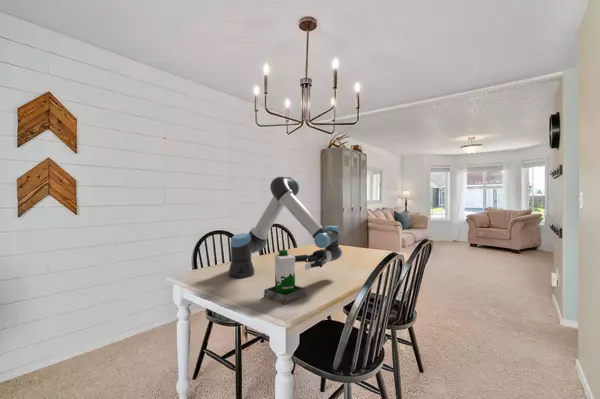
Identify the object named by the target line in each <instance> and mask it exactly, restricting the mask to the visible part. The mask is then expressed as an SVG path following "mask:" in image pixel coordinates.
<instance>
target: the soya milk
mask: <svg viewBox="0 0 600 399" xmlns="http://www.w3.org/2000/svg"><path fill="white" fill-rule="evenodd" d="M288 252H289V251H288V250H287V249H281V250H280V249H279V251H278V254H275V255H274V274H275V275H274V283H275V285H274V286H275V287H276V293H279V294H283V295H288V294H290V293H293V292H295V286H296V271H295V270H296V266H295V265H296V262H295V257H294V256H295V255H292V254H290V253H288Z"/></svg>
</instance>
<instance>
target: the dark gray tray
mask: <svg viewBox="0 0 600 399" xmlns="http://www.w3.org/2000/svg"><path fill="white" fill-rule="evenodd" d="M306 291H307V290H306V288H305V287H302V286H298V285H295V292H293V293H290V294H288V295H283V294H279V293H276V287H275V285H274V286H271V287H268V288H265V289H264V291H263V298H265V299H267V300H271V301H274V302H276V303H281V304H282V305H287V304H290V303H292V302H294V301H298V300H299V299H301V298H304V297H306V296H307V293H306Z"/></svg>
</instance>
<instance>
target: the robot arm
mask: <svg viewBox="0 0 600 399" xmlns="http://www.w3.org/2000/svg"><path fill="white" fill-rule="evenodd" d="M269 185H270V187H269V188H270V192H271V194H272V198H271V199H270V202H269V203H268V205H267V206H266V208H265V209H264V210H265V211H264V210H263V211H264V212H263V213H262V215H261V217H260V218H259V220H258V222H257V223H256V225H255V226H254V227H252V228H251V229H250V230H249V232H248V233H246V232H244V233H237V234H235V235H233V236H232V237H231V238H230V265H229V269H228V272H227V273H228V277H230V278H234V279H235V278H236V279H241V278H243V279H244V278H250V277H252V276H254V275H255V268H254V266H253V265H254V264H253V261H252V254H255V253H257V252H260V251H262V250H264V248H265V247H266V245H267V240H268V233H269V232H270V231H271V228H272V226H273V225H274V223H275V222H276V220H277V218H278V216H280V213H281V212H282V211H283V209H284V208H286V209H287V210H288V211H289V213H291V214H292V215H293V217H294V218H295V219H296V221H298V223H299V224H300V225H301V226H302V227H303V228H304V229H305V231H307V232H308V234H310V236H311V238H313V239H314V240H313V241H314V244H315V246H316V247H317V248H319V250H315V251H313V252H312V254H309V255H308V254H307V253H305V254H301V255H293V256H294V257H295V263H302V262H303V263H305V264H304V269H305V271H306V270H310V269H313V268H318V267H319V268H323V266H324V265H325V264H327V263H329V262H333V261H336V260H338V259H340V258H341V257H342V255H343V251H342V248H341V247H340V246H339V233H340V232H339V226H338V225H325V226H324V227H323V225H321V223H320V222H319V221H318V220H317V219H316V218H315V217H314V216H313V214H311V213H310V212H309V210H308V209H307V207H305V206H304V205H303V204H302V203H301V202H300V201H299V199H298V198H297V195H298V194H299V192H300V184H299V182H298V180H296V178H293V177H290V176H277V177H275V178H273V179H272V181H271V183H270V184H269Z"/></svg>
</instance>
